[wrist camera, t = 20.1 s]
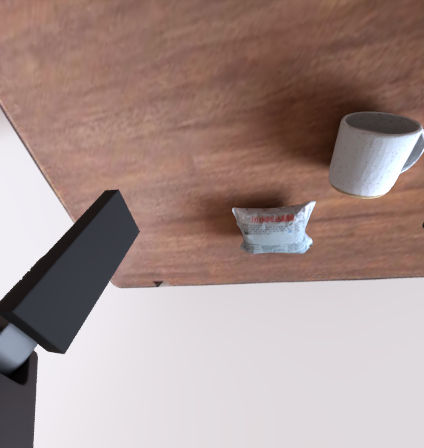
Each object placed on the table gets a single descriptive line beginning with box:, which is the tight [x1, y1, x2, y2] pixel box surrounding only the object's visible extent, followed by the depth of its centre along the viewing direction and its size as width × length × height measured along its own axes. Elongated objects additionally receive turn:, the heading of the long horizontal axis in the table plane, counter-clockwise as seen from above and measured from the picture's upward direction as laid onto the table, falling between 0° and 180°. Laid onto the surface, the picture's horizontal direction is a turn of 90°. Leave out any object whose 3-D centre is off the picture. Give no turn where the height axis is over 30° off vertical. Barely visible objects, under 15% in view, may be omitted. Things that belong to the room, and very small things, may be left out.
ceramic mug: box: [329, 112, 424, 199], centre depth 29 cm, size 11×8×8 cm
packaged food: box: [232, 201, 315, 254], centre depth 40 cm, size 9×12×5 cm
